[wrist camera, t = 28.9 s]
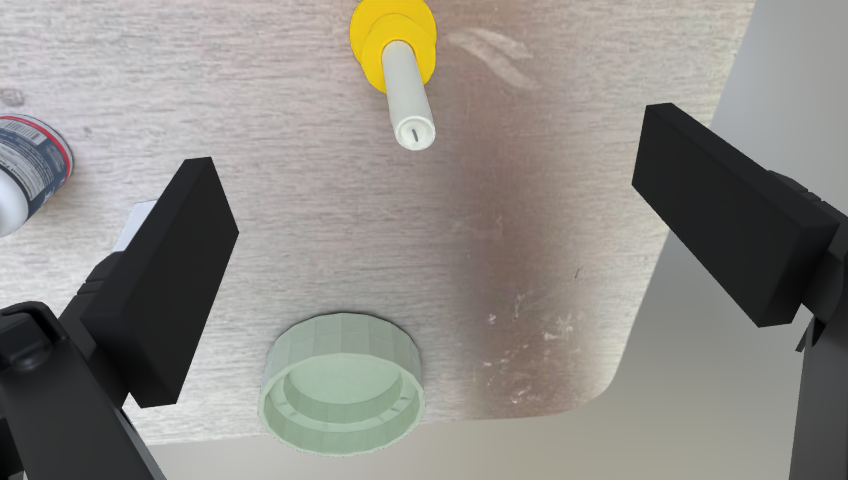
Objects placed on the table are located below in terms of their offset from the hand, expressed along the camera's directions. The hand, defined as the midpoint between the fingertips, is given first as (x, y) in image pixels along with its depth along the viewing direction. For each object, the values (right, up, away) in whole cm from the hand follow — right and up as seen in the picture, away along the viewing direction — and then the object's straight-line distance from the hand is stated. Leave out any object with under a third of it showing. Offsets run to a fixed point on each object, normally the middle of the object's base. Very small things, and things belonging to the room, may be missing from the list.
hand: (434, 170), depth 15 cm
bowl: (-8, -14, +31) cm, 35 cm away
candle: (-2, +10, +15) cm, 18 cm away
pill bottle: (-26, +4, +17) cm, 31 cm away
